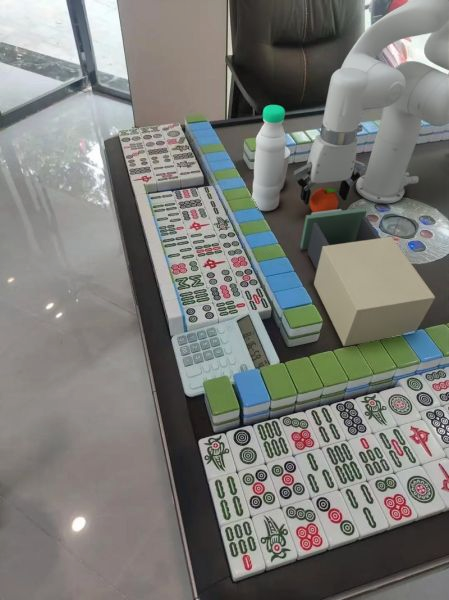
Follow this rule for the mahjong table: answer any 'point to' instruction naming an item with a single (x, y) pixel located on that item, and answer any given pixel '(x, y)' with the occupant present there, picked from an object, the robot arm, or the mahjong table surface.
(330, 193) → the clementine
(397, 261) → the cabinet
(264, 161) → the water bottle
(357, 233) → the drawer
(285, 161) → the white cup
